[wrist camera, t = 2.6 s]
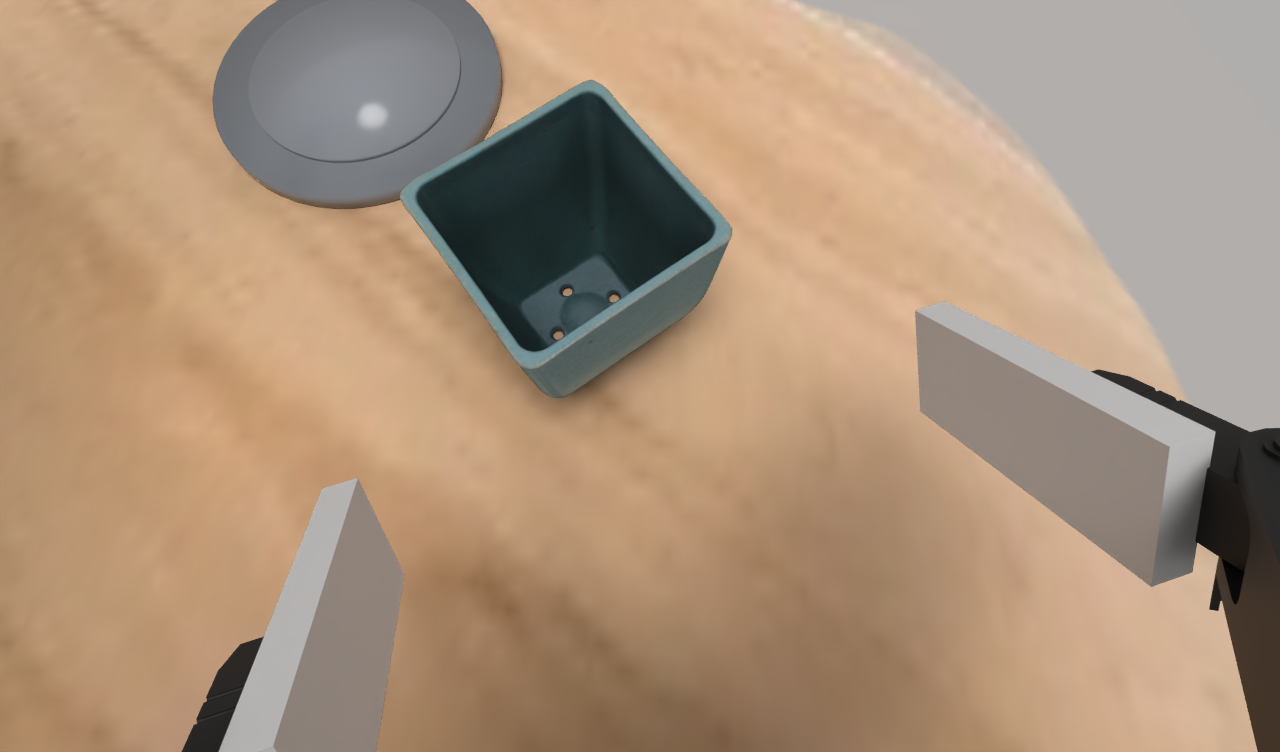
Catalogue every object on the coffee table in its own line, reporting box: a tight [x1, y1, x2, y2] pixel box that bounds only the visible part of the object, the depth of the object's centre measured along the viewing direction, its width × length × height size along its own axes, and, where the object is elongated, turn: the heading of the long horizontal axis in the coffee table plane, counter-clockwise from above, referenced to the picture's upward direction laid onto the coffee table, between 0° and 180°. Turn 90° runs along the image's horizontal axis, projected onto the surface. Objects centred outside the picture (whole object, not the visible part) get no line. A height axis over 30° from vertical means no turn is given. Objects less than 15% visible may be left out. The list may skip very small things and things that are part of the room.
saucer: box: [213, 0, 503, 208], centre depth 37 cm, size 15×15×1 cm
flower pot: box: [400, 80, 732, 398], centre depth 28 cm, size 9×9×9 cm
